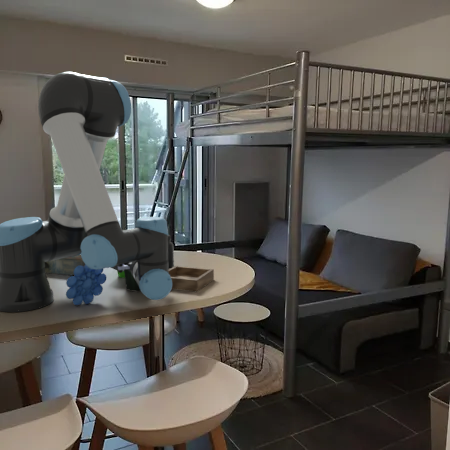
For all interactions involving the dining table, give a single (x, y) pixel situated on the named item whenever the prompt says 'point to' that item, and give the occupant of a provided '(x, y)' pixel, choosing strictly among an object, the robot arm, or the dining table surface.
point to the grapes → (85, 284)
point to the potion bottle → (130, 281)
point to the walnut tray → (190, 278)
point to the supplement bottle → (170, 253)
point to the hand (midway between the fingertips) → (134, 253)
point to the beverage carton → (64, 265)
